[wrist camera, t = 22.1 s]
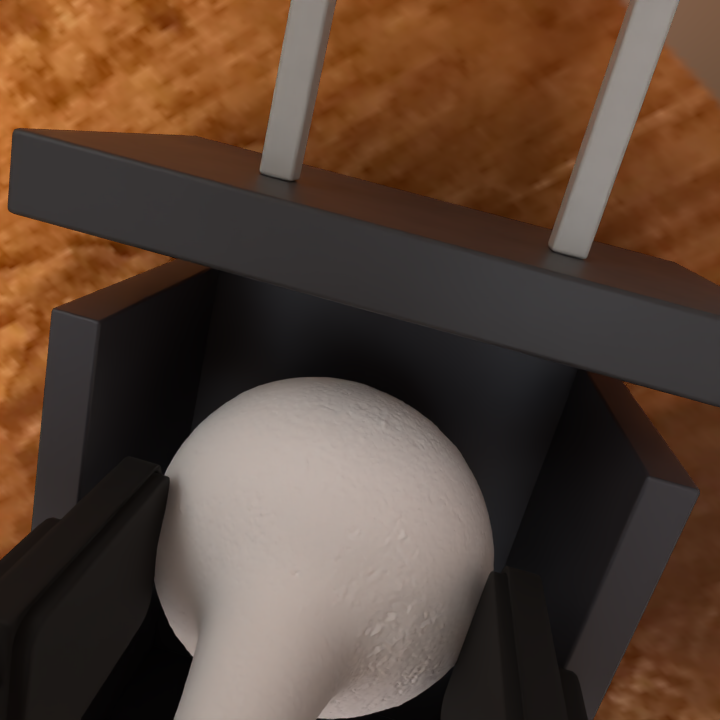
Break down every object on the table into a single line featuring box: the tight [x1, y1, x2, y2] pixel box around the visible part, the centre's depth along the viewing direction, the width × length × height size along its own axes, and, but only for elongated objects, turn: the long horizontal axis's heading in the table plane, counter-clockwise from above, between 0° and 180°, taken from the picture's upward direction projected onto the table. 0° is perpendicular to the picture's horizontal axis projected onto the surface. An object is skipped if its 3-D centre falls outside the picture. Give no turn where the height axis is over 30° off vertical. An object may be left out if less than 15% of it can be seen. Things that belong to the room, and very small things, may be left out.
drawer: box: [8, 0, 720, 720], centre depth 14 cm, size 20×11×7 cm, turn 166°
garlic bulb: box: [154, 377, 494, 720], centre depth 10 cm, size 6×6×8 cm
